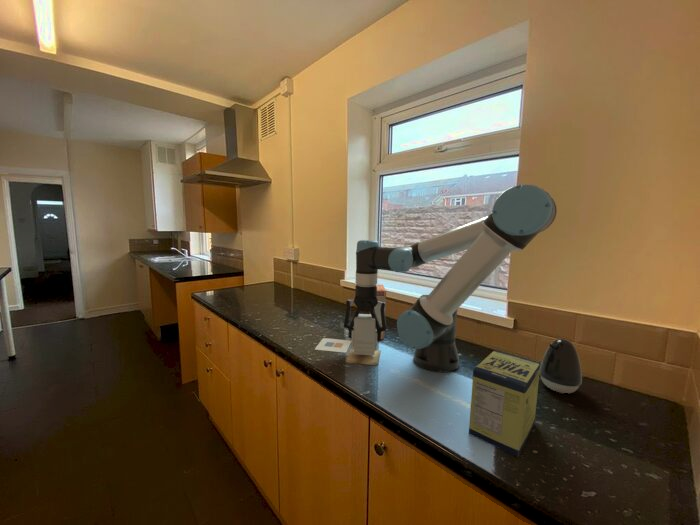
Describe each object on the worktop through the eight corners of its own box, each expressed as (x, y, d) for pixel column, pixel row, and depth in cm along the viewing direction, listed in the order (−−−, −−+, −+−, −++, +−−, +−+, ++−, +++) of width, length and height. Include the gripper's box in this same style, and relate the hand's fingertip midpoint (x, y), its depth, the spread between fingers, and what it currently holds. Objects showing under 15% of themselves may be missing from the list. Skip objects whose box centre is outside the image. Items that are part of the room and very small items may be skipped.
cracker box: (384, 340, 124) (386, 290, 122) (370, 339, 124) (371, 290, 122) (382, 328, 138) (383, 284, 136) (368, 328, 138) (370, 283, 136)
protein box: (535, 423, 72) (541, 361, 71) (519, 458, 61) (526, 386, 59) (489, 405, 79) (494, 348, 77) (467, 434, 68) (472, 368, 66)
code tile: (351, 341, 122) (351, 340, 122) (345, 352, 110) (345, 352, 110) (323, 338, 124) (323, 338, 124) (314, 349, 112) (314, 349, 112)
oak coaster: (380, 352, 111) (380, 350, 111) (377, 365, 101) (378, 363, 100) (351, 349, 113) (351, 347, 113) (345, 362, 103) (345, 359, 102)
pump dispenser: (529, 383, 91) (534, 335, 90) (553, 378, 95) (558, 331, 93) (563, 401, 82) (569, 348, 80) (588, 394, 86) (594, 343, 84)
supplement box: (374, 347, 110) (376, 314, 109) (374, 356, 103) (375, 320, 101) (354, 346, 111) (355, 313, 109) (352, 354, 103) (353, 319, 102)
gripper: (396, 284, 106) (393, 346, 108) (339, 281, 110) (338, 341, 112) (395, 288, 98) (392, 355, 101) (335, 285, 102) (333, 349, 105)
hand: (364, 348), depth 107 cm, fingers closed on supplement box, 7 cm apart
